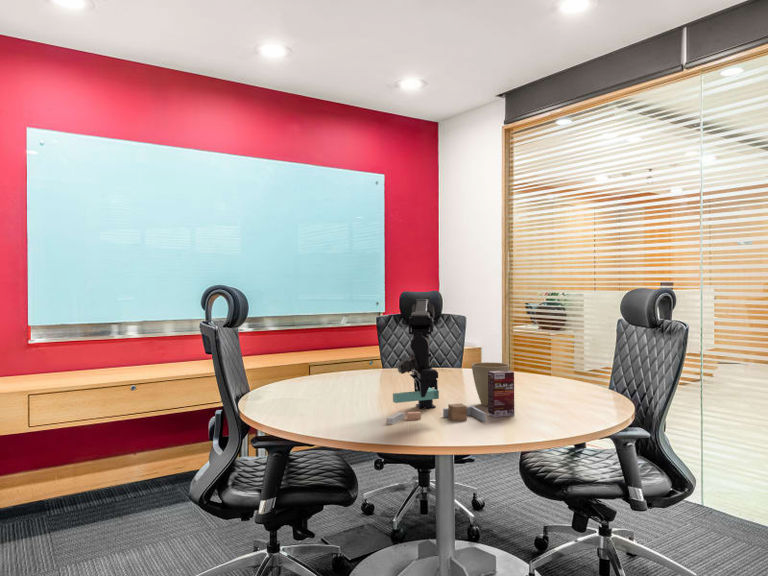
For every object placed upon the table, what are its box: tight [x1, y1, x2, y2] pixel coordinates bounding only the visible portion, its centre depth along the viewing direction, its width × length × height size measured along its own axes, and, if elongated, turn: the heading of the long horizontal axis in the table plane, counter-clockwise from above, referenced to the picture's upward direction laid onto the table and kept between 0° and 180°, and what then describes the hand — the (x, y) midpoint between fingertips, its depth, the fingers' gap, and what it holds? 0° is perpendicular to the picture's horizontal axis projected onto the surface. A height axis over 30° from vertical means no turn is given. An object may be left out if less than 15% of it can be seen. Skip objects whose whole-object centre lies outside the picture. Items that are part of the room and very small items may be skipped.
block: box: [447, 402, 468, 422], centre depth 192 cm, size 5×5×5 cm
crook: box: [392, 387, 440, 404], centre depth 186 cm, size 9×16×3 cm, turn 111°
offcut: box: [406, 411, 422, 421], centre depth 193 cm, size 2×4×2 cm, turn 102°
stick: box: [386, 411, 406, 425], centre depth 191 cm, size 2×10×2 cm, turn 153°
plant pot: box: [471, 362, 510, 407], centre depth 215 cm, size 15×15×16 cm
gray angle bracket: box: [442, 405, 486, 422], centre depth 192 cm, size 12×12×3 cm
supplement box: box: [487, 370, 515, 418], centre depth 197 cm, size 9×5×16 cm, turn 106°
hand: (421, 396), depth 184 cm, fingers closed on crook, 3 cm apart
